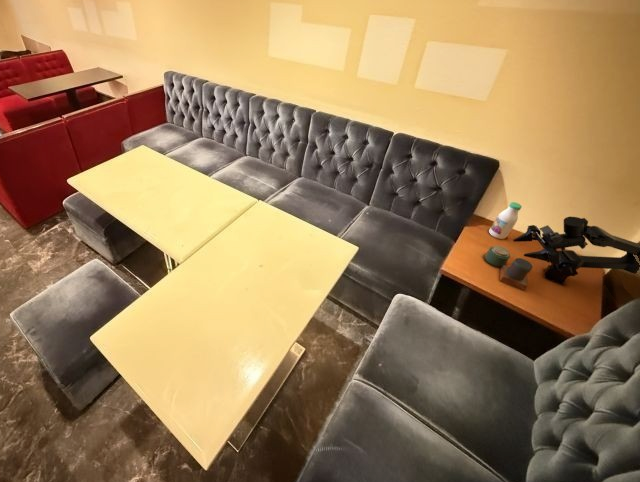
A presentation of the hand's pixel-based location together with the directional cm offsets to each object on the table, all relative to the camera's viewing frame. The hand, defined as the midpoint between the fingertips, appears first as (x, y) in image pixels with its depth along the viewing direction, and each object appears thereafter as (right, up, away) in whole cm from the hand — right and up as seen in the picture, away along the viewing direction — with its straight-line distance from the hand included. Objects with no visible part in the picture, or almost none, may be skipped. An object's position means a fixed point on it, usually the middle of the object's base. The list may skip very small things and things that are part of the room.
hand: (518, 247), depth 137 cm
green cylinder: (-1, -9, +13) cm, 15 cm away
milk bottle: (+14, +2, +28) cm, 31 cm away
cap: (0, -13, +2) cm, 13 cm away
